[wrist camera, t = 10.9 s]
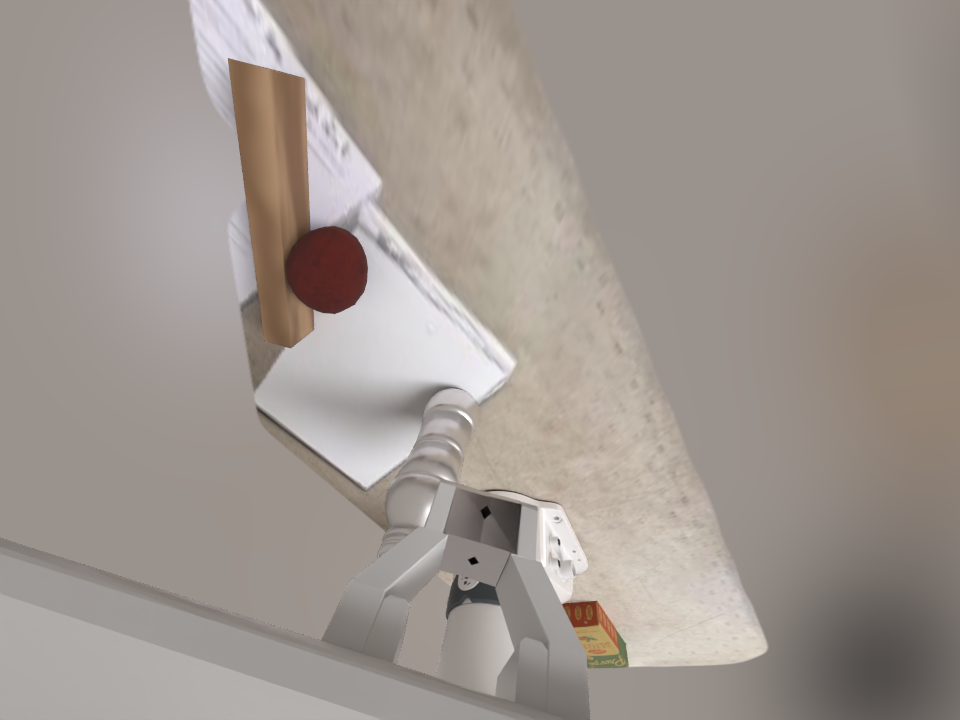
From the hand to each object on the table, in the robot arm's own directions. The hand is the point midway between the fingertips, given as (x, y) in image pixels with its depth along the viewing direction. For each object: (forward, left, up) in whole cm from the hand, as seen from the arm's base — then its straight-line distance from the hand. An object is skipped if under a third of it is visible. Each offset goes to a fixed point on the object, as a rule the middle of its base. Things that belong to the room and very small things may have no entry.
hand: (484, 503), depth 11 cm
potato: (+10, +16, -27) cm, 33 cm away
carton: (-65, +26, -28) cm, 75 cm away
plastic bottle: (-11, +17, -27) cm, 34 cm away
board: (+15, +18, -27) cm, 36 cm away
